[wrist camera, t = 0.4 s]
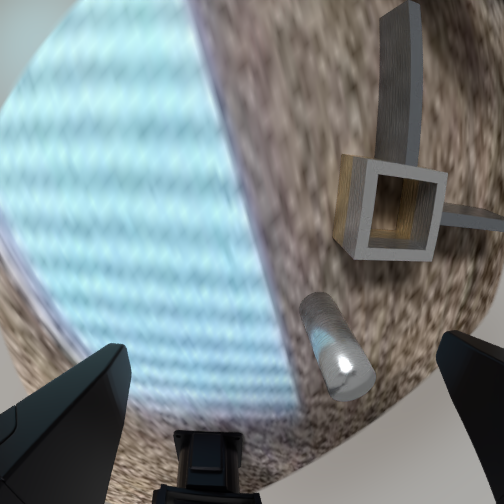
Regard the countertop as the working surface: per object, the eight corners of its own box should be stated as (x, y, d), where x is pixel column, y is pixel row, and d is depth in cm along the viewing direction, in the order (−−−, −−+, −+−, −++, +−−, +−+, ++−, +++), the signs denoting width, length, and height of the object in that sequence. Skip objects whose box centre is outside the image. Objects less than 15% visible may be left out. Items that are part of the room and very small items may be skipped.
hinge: (476, 245, 22) (507, 262, 18) (332, 236, 20) (353, 259, 17) (493, 65, 16) (527, 61, 13) (347, 9, 15) (371, -13, 11)
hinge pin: (331, 323, 23) (368, 398, 15) (297, 323, 23) (323, 403, 15) (337, 291, 22) (381, 362, 14) (301, 291, 22) (334, 367, 14)
